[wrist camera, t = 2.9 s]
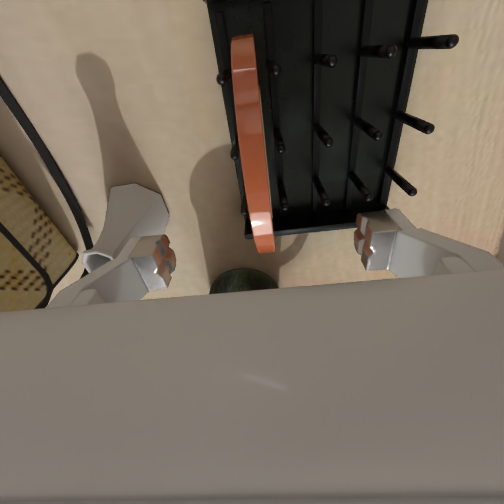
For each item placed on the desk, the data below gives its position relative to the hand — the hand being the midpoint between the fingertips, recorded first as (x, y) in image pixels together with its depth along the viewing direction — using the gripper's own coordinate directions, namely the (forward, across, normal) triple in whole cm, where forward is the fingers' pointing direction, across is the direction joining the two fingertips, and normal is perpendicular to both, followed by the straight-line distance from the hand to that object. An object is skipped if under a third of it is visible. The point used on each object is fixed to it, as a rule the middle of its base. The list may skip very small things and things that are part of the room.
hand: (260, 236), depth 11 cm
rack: (+18, -5, 0) cm, 19 cm away
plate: (+10, 0, 0) cm, 10 cm away
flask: (+18, +15, +7) cm, 25 cm away
